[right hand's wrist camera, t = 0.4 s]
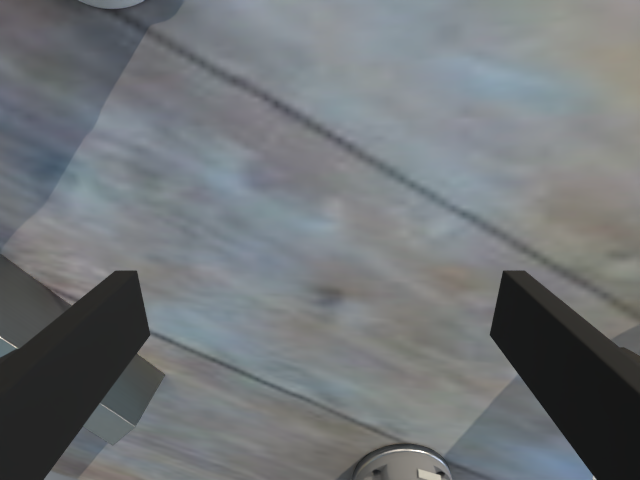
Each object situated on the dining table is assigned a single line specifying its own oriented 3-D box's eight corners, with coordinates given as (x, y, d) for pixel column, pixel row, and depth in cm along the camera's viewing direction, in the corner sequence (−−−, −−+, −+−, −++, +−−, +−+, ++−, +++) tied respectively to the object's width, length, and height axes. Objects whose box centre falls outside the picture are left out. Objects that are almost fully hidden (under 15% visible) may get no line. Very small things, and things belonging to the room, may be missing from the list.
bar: (165, 374, 48) (135, 427, 40) (145, 391, 49) (112, 445, 41) (0, 253, 42) (-74, 288, 34) (-18, 276, 43) (-94, 315, 35)
